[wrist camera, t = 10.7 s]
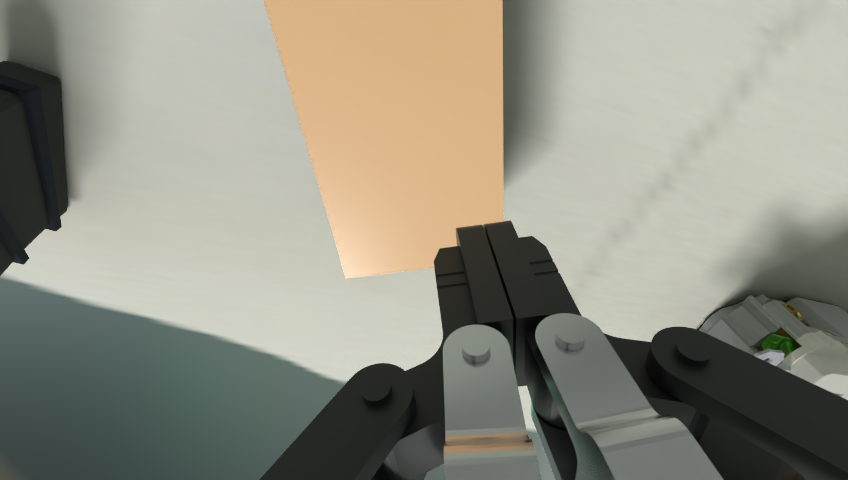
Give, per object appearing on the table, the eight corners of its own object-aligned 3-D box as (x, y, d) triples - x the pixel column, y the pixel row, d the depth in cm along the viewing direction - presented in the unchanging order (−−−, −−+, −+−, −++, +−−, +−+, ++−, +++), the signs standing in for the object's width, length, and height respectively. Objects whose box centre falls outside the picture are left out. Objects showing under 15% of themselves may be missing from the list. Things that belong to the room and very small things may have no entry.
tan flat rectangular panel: (227, -146, 17) (219, -149, 16) (497, -185, 17) (501, -191, 16) (346, 271, 30) (345, 278, 29) (501, 252, 29) (503, 259, 29)
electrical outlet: (707, 268, 39) (797, 353, 31) (895, 310, 47) (1005, 386, 39) (634, 349, 45) (694, 438, 37) (812, 374, 53) (892, 451, 45)
